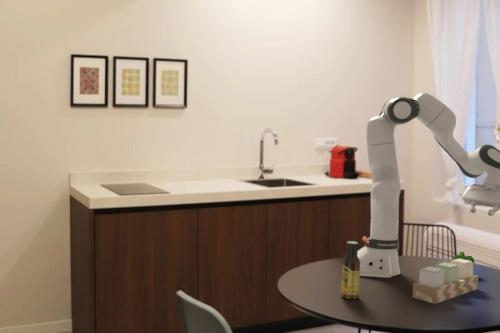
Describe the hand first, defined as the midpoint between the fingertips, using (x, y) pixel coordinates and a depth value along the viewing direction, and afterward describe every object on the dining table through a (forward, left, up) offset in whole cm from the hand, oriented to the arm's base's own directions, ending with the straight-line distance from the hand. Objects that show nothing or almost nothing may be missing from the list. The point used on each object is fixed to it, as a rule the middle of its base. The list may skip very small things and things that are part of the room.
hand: (480, 213), depth 236 cm
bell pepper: (-2, +11, -28) cm, 30 cm away
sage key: (-17, -14, -24) cm, 33 cm away
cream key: (-9, -8, -24) cm, 27 cm away
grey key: (-25, -21, -24) cm, 40 cm away
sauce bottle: (-54, -21, -28) cm, 64 cm away
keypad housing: (-17, -14, -27) cm, 35 cm away
